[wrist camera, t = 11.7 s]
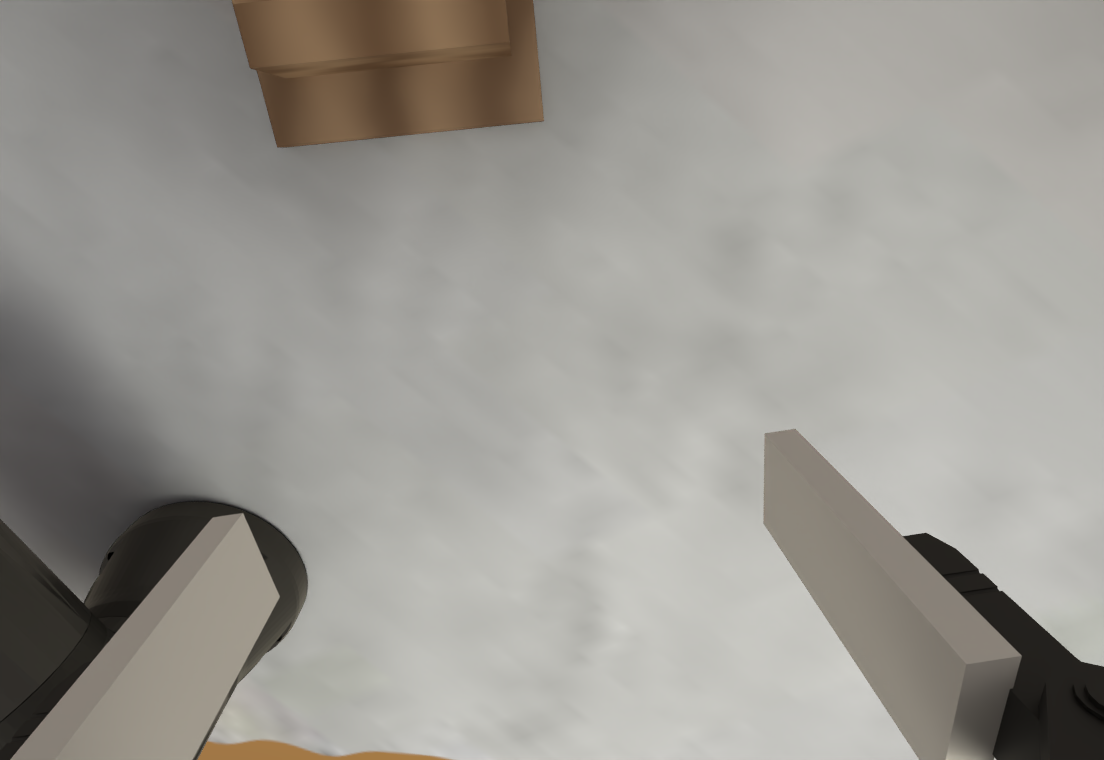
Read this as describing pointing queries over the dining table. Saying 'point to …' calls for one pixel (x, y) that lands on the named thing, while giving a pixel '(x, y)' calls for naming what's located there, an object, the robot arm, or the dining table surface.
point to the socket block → (391, 66)
